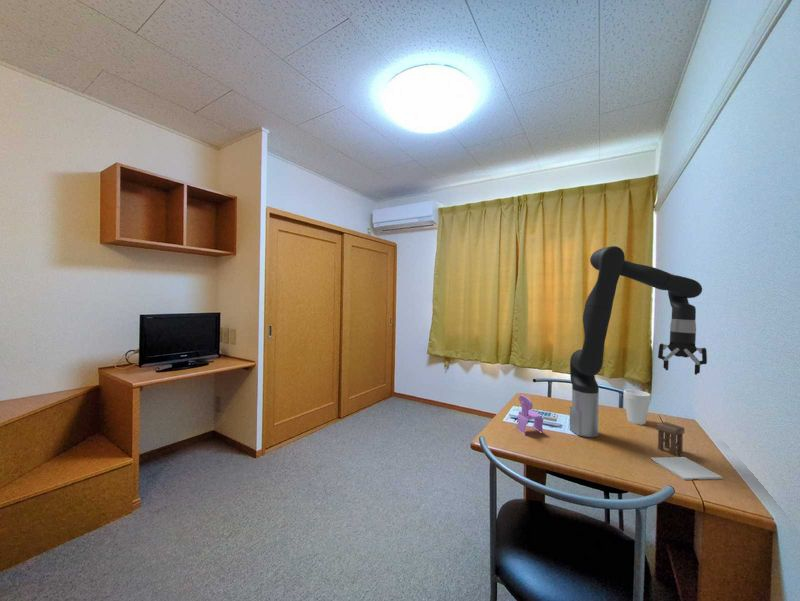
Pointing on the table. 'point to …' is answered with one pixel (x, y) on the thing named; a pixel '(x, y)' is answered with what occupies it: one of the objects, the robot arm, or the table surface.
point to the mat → (686, 468)
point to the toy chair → (528, 415)
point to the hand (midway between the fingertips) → (681, 372)
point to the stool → (668, 430)
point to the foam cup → (637, 405)
